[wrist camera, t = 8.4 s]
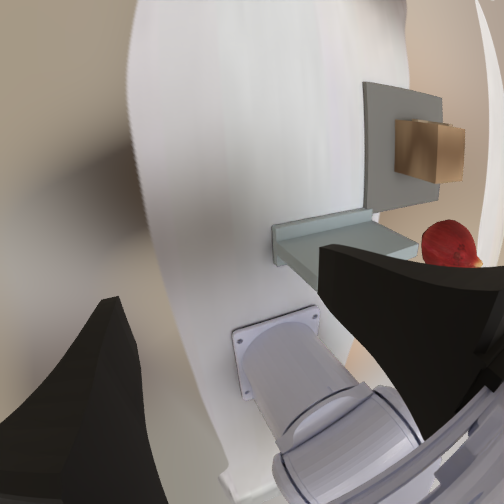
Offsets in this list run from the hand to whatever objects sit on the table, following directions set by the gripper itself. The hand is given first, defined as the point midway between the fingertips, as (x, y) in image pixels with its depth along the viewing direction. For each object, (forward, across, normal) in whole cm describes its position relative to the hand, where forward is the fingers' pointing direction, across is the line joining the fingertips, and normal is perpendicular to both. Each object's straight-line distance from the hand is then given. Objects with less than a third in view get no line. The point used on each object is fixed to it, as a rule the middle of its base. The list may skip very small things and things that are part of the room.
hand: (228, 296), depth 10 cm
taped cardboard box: (+10, -20, -3) cm, 22 cm away
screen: (+10, -10, +4) cm, 15 cm away
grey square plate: (+10, -20, -3) cm, 23 cm away
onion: (+10, -24, +6) cm, 27 cm away
